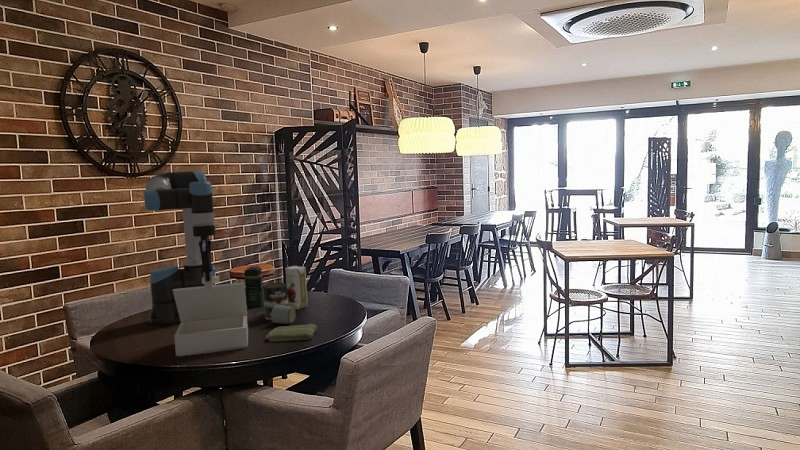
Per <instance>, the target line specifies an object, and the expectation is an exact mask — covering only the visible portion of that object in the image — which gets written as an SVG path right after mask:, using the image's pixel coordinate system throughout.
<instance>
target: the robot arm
mask: <svg viewBox="0 0 800 450" xmlns="http://www.w3.org/2000/svg"><path fill="white" fill-rule="evenodd" d="M212 186H213V185H212V183H211V181H208V180H207V177H206V175H205V173H204V172H203V171H196V170H195V171H193V170H190V171H171V172H170V171H168V172H167V171H166V172H161V173H159V174H157V175H154V176H152V177H151V178H149V179H148V180H147V182H146V184H145V190H144V192H143V198H144V199H143V200H144V208H145V211H147V212H151V211H154V212H159V211H167V210H168V211H169V210H170V211H171V210H182V219H183V232H184V242H185V252H186V253H185V255H186V261H185V262H184V263H183V268H180V267H179V265H169V266H166V267H161V268H157V269H154V270H152V272H150V274H149V281H150V282H149V284H150V293H151V304H152V305H151V309H150V312H149V316H148V319H149V322H148V323H149V324H150V325H152V324H153V325H152V326H167V325H172V324H177V323H181V322H182V321H180V317H179V313H178V309H177V305H176V302H175V298H174V294H173V289H180V288H190V287H201V286H205V290H213V285H216V283H213V282H212V276H217V275H216V272H217V271H216V266H215V265H214V264H212V239H210V236H215V235H216V225H215V222H216V219H215V211H214V199H213V187H212ZM202 277H204V284H202ZM166 324H167V325H166Z"/></svg>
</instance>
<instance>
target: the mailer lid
mask: <svg viewBox="0 0 800 450" xmlns="http://www.w3.org/2000/svg"><path fill="white" fill-rule="evenodd" d="M212 282H213V283H215V285H213V290H205V286H201V287H190V288H180V289H173V294H174V298H175V302H176V305H177V309H178V313H179V317H180V321H181V322H186V321H195V320H204V319H213V318H222V317H231V316H240V315H248V309H247V308H248V307H247V305H246V289H245V282H235V283H224V284H217V283H220V276H219V275H216V276H212ZM202 284H204V277H202Z"/></svg>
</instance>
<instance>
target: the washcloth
mask: <svg viewBox="0 0 800 450" xmlns="http://www.w3.org/2000/svg"><path fill="white" fill-rule="evenodd" d="M317 331H318V327H317V325H316V324H313V323H307V324H298V325H296V324H295V325H287V326H286V325H285V326H278V327H275V328H273V329H272V330H271V331H269V333H268V334H267V335H265V339H266V340H269V342H270V343H273V342H276V343H277V342H291V341H292V342H293V341H309V340H311V339H313V337H314V334H315V333H316V332H317Z"/></svg>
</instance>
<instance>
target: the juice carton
mask: <svg viewBox="0 0 800 450" xmlns="http://www.w3.org/2000/svg"><path fill="white" fill-rule="evenodd" d="M285 282H286V284H287V297H288V306H291V307H293V308H294V309H295V310H301V309H304V308H308V305H309V304H308V289H307V272H306V266H297V265H292V266H289V267H285Z"/></svg>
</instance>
